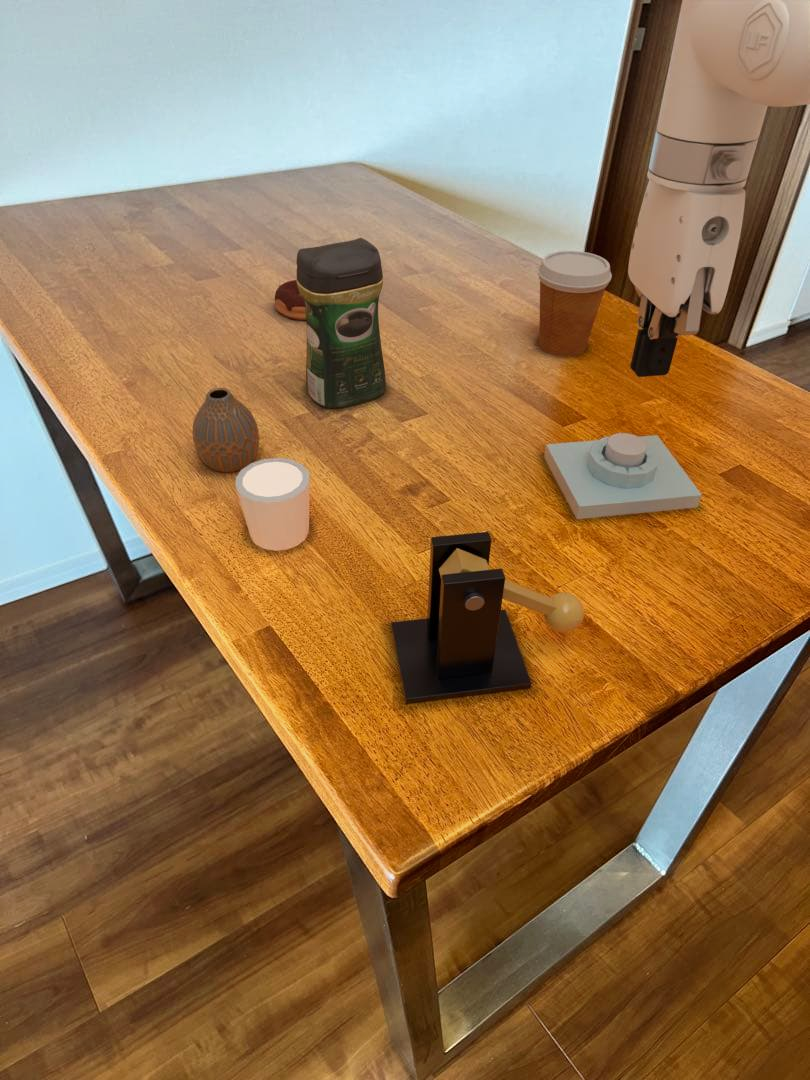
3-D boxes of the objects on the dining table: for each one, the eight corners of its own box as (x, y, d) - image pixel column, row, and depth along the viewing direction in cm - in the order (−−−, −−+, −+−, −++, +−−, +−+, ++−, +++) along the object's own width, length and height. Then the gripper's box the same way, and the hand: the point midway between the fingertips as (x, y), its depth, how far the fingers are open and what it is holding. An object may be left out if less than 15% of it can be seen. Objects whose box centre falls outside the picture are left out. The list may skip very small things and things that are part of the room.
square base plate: (652, 451, 83) (661, 421, 81) (696, 511, 75) (707, 480, 73) (543, 460, 82) (548, 430, 79) (575, 523, 74) (582, 492, 71)
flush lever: (558, 615, 61) (584, 591, 59) (571, 644, 59) (598, 620, 57) (434, 568, 55) (458, 539, 53) (442, 598, 53) (468, 569, 51)
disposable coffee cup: (575, 329, 106) (590, 246, 98) (609, 359, 100) (628, 272, 92) (516, 338, 104) (526, 253, 96) (546, 369, 97) (560, 281, 89)
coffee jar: (366, 371, 96) (362, 226, 84) (394, 399, 91) (394, 249, 79) (298, 388, 93) (283, 240, 81) (323, 418, 88) (312, 264, 75)
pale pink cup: (238, 521, 73) (228, 464, 69) (305, 507, 75) (299, 450, 71) (252, 566, 69) (242, 508, 64) (323, 549, 70) (318, 491, 66)
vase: (267, 445, 83) (257, 377, 78) (256, 482, 78) (245, 411, 72) (207, 444, 83) (192, 376, 78) (192, 481, 78) (176, 410, 72)
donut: (348, 299, 113) (347, 273, 111) (337, 327, 106) (336, 300, 104) (284, 295, 114) (281, 270, 112) (269, 323, 107) (266, 297, 104)
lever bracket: (503, 618, 64) (519, 515, 56) (529, 692, 58) (551, 588, 50) (391, 631, 63) (390, 527, 55) (405, 708, 57) (407, 604, 49)
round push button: (634, 445, 78) (638, 431, 77) (649, 466, 75) (653, 452, 74) (598, 448, 77) (601, 434, 76) (612, 470, 74) (615, 456, 73)
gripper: (797, 184, 52) (723, 409, 64) (701, 135, 63) (653, 335, 75) (699, 188, 51) (642, 416, 63) (618, 138, 62) (583, 340, 74)
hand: (648, 371), depth 69 cm, fingers closed
